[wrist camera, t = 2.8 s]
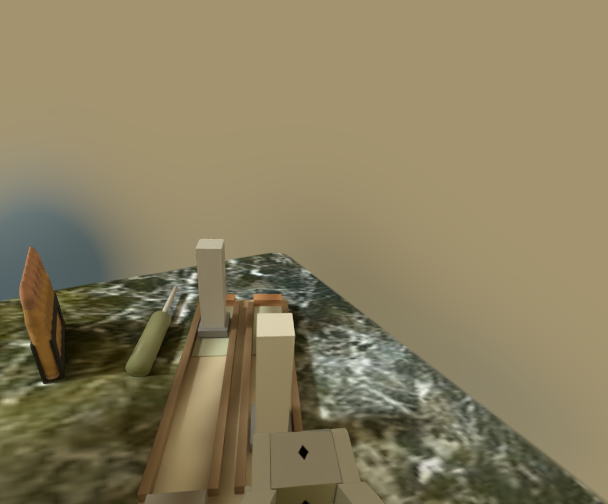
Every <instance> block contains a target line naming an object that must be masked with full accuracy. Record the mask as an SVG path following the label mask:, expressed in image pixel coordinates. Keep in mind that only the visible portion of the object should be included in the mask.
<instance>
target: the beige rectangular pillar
mask: <svg viewBox="0 0 608 504" xmlns="http://www.w3.org/2000/svg"><path fill="white" fill-rule="evenodd" d="M294 344H295V332H294V324H293V317H292V313H257V336H256V404H252V412H251V438H250V452H252V451H253V435H254V434H258V433H269V434H270V433H279V432H292V429H291V418H290V396H291V383H292V370H293V357H294Z"/></svg>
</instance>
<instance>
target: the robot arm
mask: <svg viewBox="0 0 608 504" xmlns="http://www.w3.org/2000/svg"><path fill="white" fill-rule="evenodd" d="M240 504H385V503H384V502H383V501H382V500H381V499H380V498H379V497H378V495H377V494H376V493H375V492H374V491H373V490H372V489H371V487H370V486H369V485H368V484H367V483H366V482H361V481H360V477H359V473H358V469H357V465H356V462H355V458H354V454H353V450H352V446H351V442H350V439H349V435H348V431H347V430H346V428H338V429H319V430H306V431H300V432H279V433H270V434H269V433H258V434H254V435H253V451H252V482H251V491H249V492H246V493H245V495H244V497H243V498H242V500H241V502H240Z"/></svg>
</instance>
